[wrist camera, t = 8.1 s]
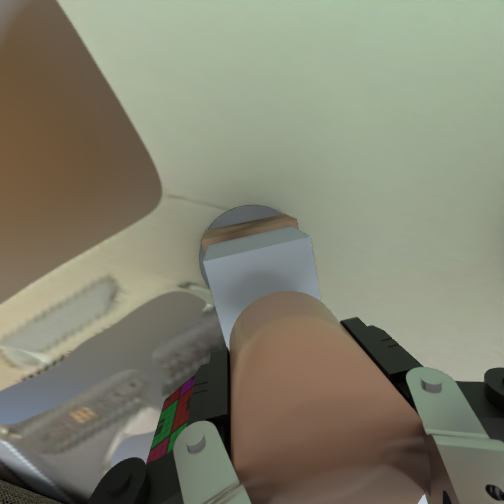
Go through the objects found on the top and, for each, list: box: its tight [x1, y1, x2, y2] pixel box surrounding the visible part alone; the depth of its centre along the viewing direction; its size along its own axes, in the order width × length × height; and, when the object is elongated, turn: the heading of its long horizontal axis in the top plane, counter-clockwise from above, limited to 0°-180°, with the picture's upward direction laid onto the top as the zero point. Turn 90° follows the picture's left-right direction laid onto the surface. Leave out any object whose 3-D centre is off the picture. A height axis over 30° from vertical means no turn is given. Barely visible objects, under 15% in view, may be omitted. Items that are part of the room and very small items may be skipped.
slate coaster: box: [199, 205, 281, 288], centre depth 27 cm, size 11×11×1 cm
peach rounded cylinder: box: [229, 291, 431, 504], centre depth 9 cm, size 5×5×6 cm
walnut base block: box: [201, 214, 299, 254], centre depth 25 cm, size 8×8×5 cm
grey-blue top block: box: [203, 226, 321, 349], centre depth 20 cm, size 7×7×5 cm
